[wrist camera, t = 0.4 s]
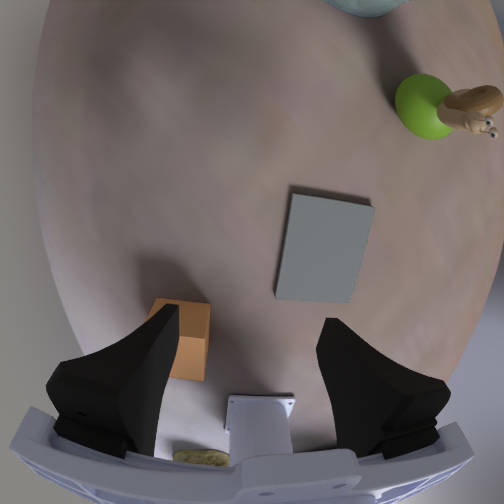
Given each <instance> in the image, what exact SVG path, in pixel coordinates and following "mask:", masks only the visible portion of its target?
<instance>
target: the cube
mask: <svg viewBox="0 0 504 504" xmlns="http://www.w3.org/2000/svg"><path fill="white" fill-rule="evenodd" d="M166 303H169V304H177V305H179V336H180V338H179V343H178V348H177V353H176V357H175V360H174V363H173V366H172V369H171V372H170V375H169V377H172V378H179V379H186V380H194V381H203V382H204V378H205V370H206V362H207V355H208V348H209V329H210V308H211V304H207V303H198V302H189V301H180V300H172V299H164V298H156V300H155V302H154V304H153V306H152V308H151V310H150V312H149V314H148V316H147V318H146V320H145V322H146V321H147V320H148V319H150V318H151V317H152V316H153V315H154V314H155V313H156V312H157V311H158V310H160V309H161V308H162V307H163V306H164V305H165V304H166ZM145 322H144V323H145Z"/></svg>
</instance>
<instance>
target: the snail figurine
mask: <svg viewBox="0 0 504 504" xmlns="http://www.w3.org/2000/svg"><path fill="white" fill-rule="evenodd" d="M503 101H504V99H503V95H502V93H501V91H500V90H499V89H498V88H496V87H494V86H491V85H485V86H480V87H476V88H474V89H462V90H458V91H455V92H453V93H452V91H451V90H450V89H449V87H448V86H447V85H446V84H445V83H444V82H442V81H441V80H439V79H438V78H436V77H434V76H431V75H427V74H415V75H411V76H409V77H407V78H406V79H404V80H403V81H402V82H401V83H400V85H399V86H398V88H397V91H396V95H395V106H396V110H397V113H398V116H399V118H400V120H401V121H402V123H403V124H404V125H405V126H406V127H407V128H408V129H409V130H410V131H411V132H412V133H414V134H415V135H417V136H419V137H422V138H425V139H439V138H442V137H445V136H446V135H448V134H449V133H450V132H451V131H452V130H453V129H458V130H468V131H469V132H471V133H473V134H480V133H489V134H490V135H491V137H493V138H497V137H498V130H497V129H496V128H494V127H492V128H490V130H489V132H485V131H484V130H485V127H486V124H487V125H488V126H492V125H493V124H494V120H493V118H492V117H491V116H490V115H492V114H494V113H495V112H497V111H498V110H499V109H500V108H501V107H502V105H503Z"/></svg>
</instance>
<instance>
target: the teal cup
mask: <svg viewBox="0 0 504 504" xmlns="http://www.w3.org/2000/svg"><path fill="white" fill-rule="evenodd" d="M324 1H325V2H327V3H328V4H330V5H332V6H333V7H335V8H337V9H339V10H341V11H344V12H346V13H349V14H352V15H355V16H360V17H365V18H366V17H377V16H379V17H380V16H382V15H384V14H386V13H388V12H390V11H391V10H393V9H395V8H397V7H398V6H399V4H400V3H405V2H406V1H410V0H324Z"/></svg>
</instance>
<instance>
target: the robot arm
mask: <svg viewBox="0 0 504 504" xmlns="http://www.w3.org/2000/svg"><path fill="white" fill-rule="evenodd" d="M179 338H180V336H179V305H177V304H169V303H166V304H165V305H164V306H163V307H162V308H161V309H160V310H158V311H157V312H156V313H155V314H154V315H153V316H152V317H151V318H150V319H148V320H147V321H146V322H145V323H144V324H143V325H141V326H140V327H139V328H137V329H136V330H135V331H133V332H132V333H131V334H129V335H128V336H126V337H125V338H123V339H121V340H120V341H118V342H116V343H114V344H112V345H110V346H108V347H106V348H104V349H102V350H100V351H97V352H95V353H92V354H89V355H86V356H83V357H80V358H76V359H72V360H68V361H63V362H60V364H59V365H58V367H57V368H56V369H55V371H54V372H53V374H52V376H51V377H50V379H49V381H48V382H47V384H46V391H47V393H48V396H49V398H50V399H51V401H52V403H53V404H54V406H55V408H56V410H57V411H58V413H59V417H58V419H57V420H56V419H55V418H53V417H52V416H51V415H49V414H47V413H45V412H43V411H40V410H39V409H36V408H35V407H33V406H30V407H29V409H28V411H27V413H26V414H25V416H24V418H23V420H22V422H21V424H20V426H19V427H18V429H17V431H16V433H15V435H14V437H13V439H12V441H11V444H10V445H9V448H10V450H11V451H12V452H14V454H16V456H17V457H19V458H20V459H21V460H22V461H23V462H24V463H25V464H26V465H27V466H28V467H29V468H31V469H32V470H33V471H34V472H35V473H36V474H38V475H40V476H41V477H43V478H45V479H47V480H49V481H50V482H52V483H54V484H56V485H58V486H60V487H62V488H64V489H66V490H68V491H70V492H72V493H75V494H77V495H79V496H81V497H83V498H85V499H88V500H90V501H92V502H95V503H97V504H395V503H397V502H399V501H402V500H404V499H406V498H409V497H411V496H413V495H415V494H418V493H419V492H422V491H424V490H426V489H428V488H430V487H432V486H434V485H436V484H438V483H440V482H442V481H443V480H445V479H447V478H448V477H449V476H451V475H452V474H453V473H455V472H456V471H457V470H458V469H460V468H461V467H462V466H464V465H465V464H466V463H467V462H468V461H469V460H471V459H472V458H473V457H474V456H475V454H474V452H473V450H472V448H471V446H470V444H469V443H468V441H467V439H466V437H465V435H464V434H463V432H462V430H461V428H460V427H459V425H458V423H457V422H453V423H451V424H448V425H446V426H443V427H441V428H440V429H438V430H436V428H435V426H436V425H437V421H436V419H435V417H436V416H437V415H438V414H439V413H440V411H441V410H442V409H443V408H444V407H445V405H446V404H447V402H448V401H449V398H450V396H451V392H450V390H449V388H448V387H447V385H446V384H445V382H444V381H443V380H440V379H436V378H432V377H429V376H425V375H423V374H420V373H417V372H415V371H412V370H410V369H408V368H406V367H404V366H402V365H400V364H398V363H396V362H394V361H393V360H391V359H389V358H388V357H386V356H384V355H383V354H381V353H380V352H379V351H377V350H376V349H374V348H373V347H372V346H370V345H369V344H368V343H367V342H365V341H364V340H363V339H362V338H361V337H359V336H358V335H357V334H356V333H355V332H354V331H352V330H351V329H350V328H349V327H348V326H347V325H345V324H344V323H343V322H342V321H340V320H339V319H338V318H326V320H325V323H324V326H323V329H322V332H321V335H320V338H319V341H318V344H317V346H316V353H317V359H318V364H319V368H320V371H321V374H322V377H323V380H324V383H325V386H326V389H327V392H328V395H329V398H330V401H331V405H332V410H333V416H334V422H335V429H336V436H337V447H338V449H332V450H324V451H315V452H303V453H293V449H292V443H291V436H290V430H289V424H288V417H289V415H290V413H291V410H292V408H293V405H294V403H295V397H267V396H241V395H230V396H229V398H228V407H227V416H226V425H225V433H226V434H230V451H229V467H220V466H208V465H199V464H191V463H184V462H177V461H171V460H166V459H160V458H155V457H154V449H155V440H156V432H157V426H158V419H159V413H160V408H161V403H162V397H163V394H164V390H165V387H166V384H167V381H168V378H169V375H170V372H171V369H172V366H173V363H174V360H175V357H176V353H177V348H178V343H179Z"/></svg>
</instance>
